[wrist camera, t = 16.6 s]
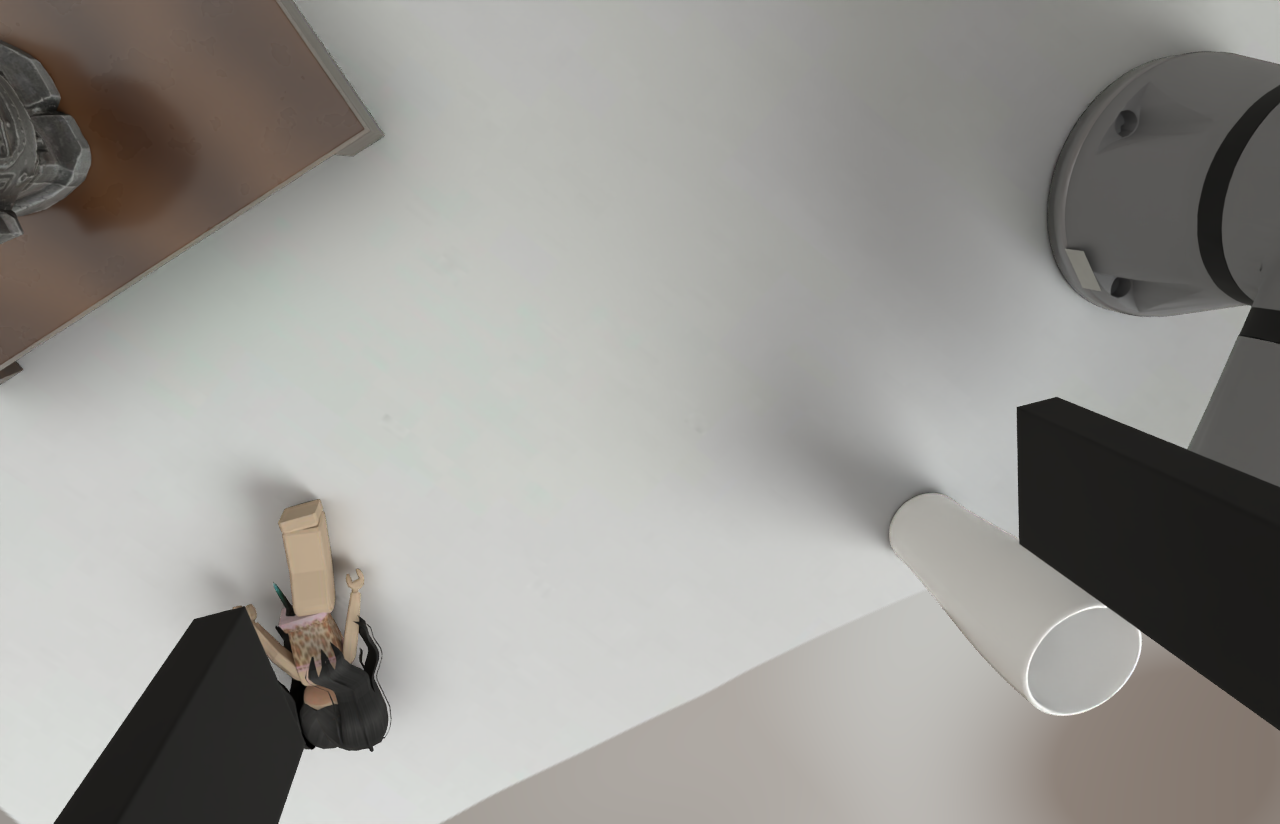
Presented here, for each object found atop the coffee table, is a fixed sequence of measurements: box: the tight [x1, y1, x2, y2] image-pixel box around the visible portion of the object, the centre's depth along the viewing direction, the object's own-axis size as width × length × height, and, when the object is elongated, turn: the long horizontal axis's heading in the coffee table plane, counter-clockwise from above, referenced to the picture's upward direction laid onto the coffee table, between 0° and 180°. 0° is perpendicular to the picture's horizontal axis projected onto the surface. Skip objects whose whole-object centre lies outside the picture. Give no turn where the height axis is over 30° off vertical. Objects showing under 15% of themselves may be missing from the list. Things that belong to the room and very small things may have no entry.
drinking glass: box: [889, 493, 1142, 716], centre depth 43 cm, size 7×7×15 cm
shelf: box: [0, 0, 385, 385], centre depth 32 cm, size 24×14×6 cm, turn 121°
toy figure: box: [233, 499, 391, 752], centre depth 42 cm, size 7×6×15 cm
